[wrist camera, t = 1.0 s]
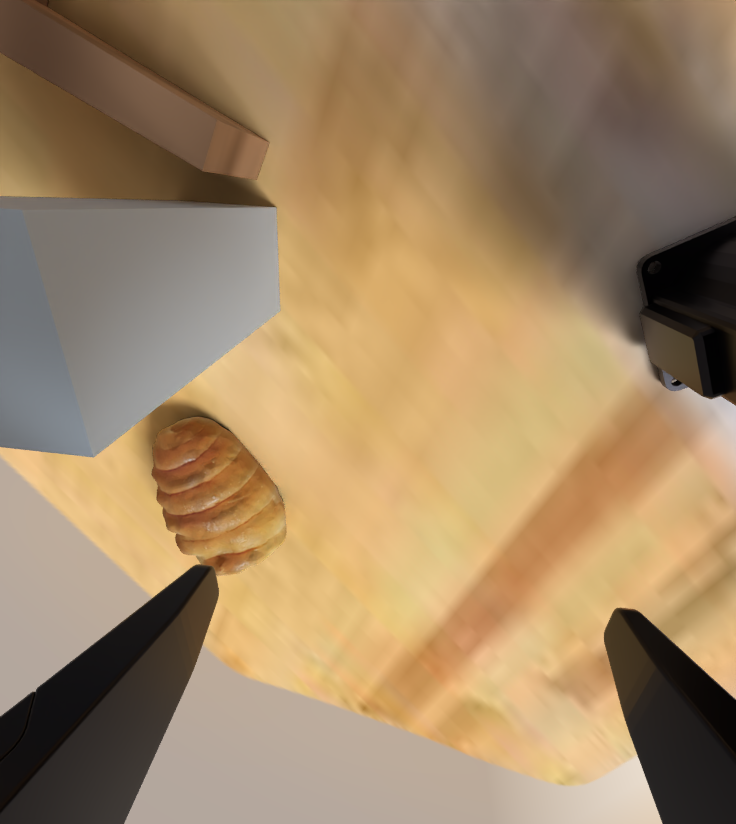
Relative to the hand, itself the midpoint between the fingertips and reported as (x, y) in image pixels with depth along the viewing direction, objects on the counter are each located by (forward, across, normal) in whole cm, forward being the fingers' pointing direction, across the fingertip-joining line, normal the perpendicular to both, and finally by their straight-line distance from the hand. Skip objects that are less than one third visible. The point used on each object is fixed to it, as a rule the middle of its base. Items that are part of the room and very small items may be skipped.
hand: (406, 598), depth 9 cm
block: (+13, +9, -6) cm, 17 cm away
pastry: (+14, +11, +8) cm, 19 cm away
